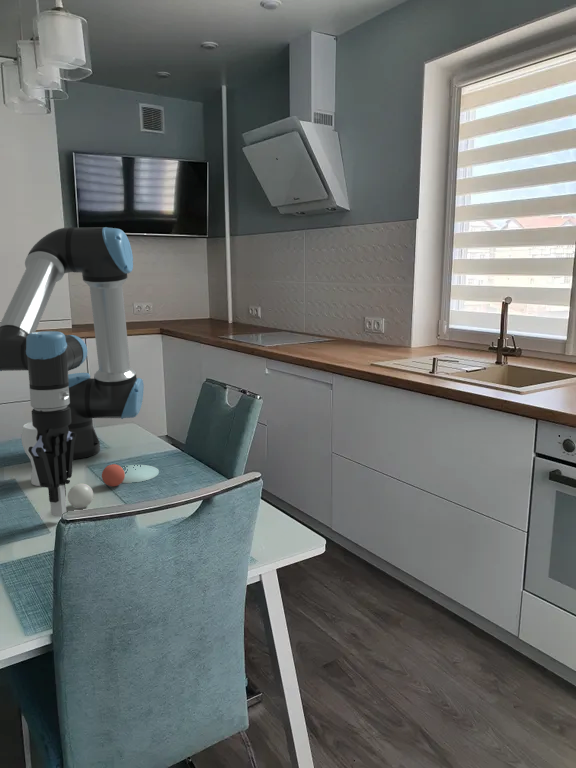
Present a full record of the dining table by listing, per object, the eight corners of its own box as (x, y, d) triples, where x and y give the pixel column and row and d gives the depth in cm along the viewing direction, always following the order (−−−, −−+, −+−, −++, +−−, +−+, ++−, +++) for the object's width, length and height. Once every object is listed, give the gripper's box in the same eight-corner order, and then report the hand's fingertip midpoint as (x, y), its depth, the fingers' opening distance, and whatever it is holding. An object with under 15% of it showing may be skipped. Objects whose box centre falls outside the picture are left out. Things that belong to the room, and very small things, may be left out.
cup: (25, 477, 152) (20, 421, 149) (68, 471, 156) (65, 417, 153) (25, 491, 142) (20, 431, 140) (71, 485, 146) (67, 427, 144)
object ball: (98, 485, 146) (97, 464, 145) (118, 480, 150) (117, 459, 149) (108, 491, 142) (107, 470, 141) (129, 486, 146) (128, 465, 145)
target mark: (95, 473, 155) (94, 472, 155) (142, 462, 164) (142, 461, 164) (120, 487, 145) (120, 486, 145) (169, 474, 154) (168, 473, 154)
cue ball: (64, 506, 133) (62, 483, 132) (87, 500, 137) (86, 478, 136) (74, 514, 129) (73, 490, 128) (98, 507, 133) (97, 484, 132)
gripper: (46, 415, 113) (54, 529, 118) (85, 401, 126) (91, 504, 130) (13, 413, 115) (23, 524, 120) (55, 399, 128) (62, 500, 132)
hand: (58, 514), depth 125 cm, fingers closed
